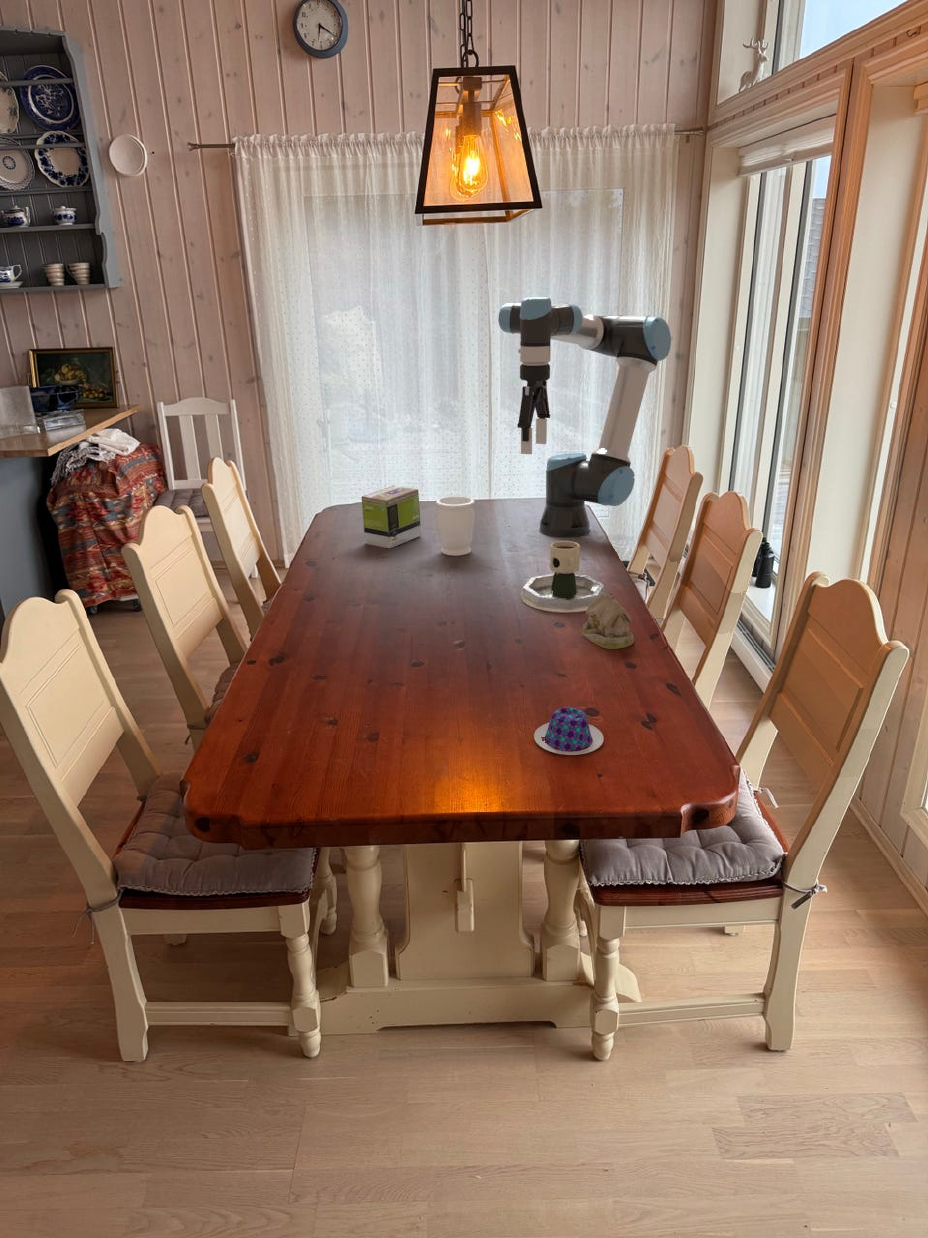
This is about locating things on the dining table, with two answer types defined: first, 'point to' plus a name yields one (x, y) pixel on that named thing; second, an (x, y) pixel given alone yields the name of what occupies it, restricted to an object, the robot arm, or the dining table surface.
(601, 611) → the ceramic model
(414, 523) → the tea box
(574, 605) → the octagonal bowl
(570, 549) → the character mug
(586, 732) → the pudding
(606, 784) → the dining table surface
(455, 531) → the jar
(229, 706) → the dining table surface
